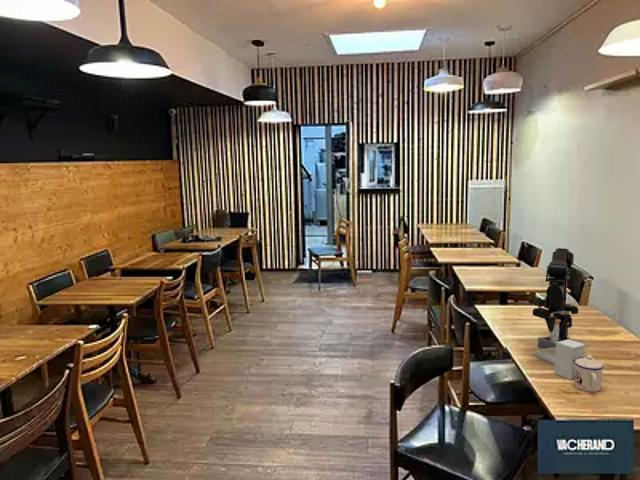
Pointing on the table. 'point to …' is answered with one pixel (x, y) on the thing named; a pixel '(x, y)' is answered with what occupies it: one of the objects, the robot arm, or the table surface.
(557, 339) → the pin
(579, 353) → the supplement box
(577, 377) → the teacup with lid
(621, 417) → the table surface
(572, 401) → the table surface
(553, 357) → the tray
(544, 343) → the bracket
